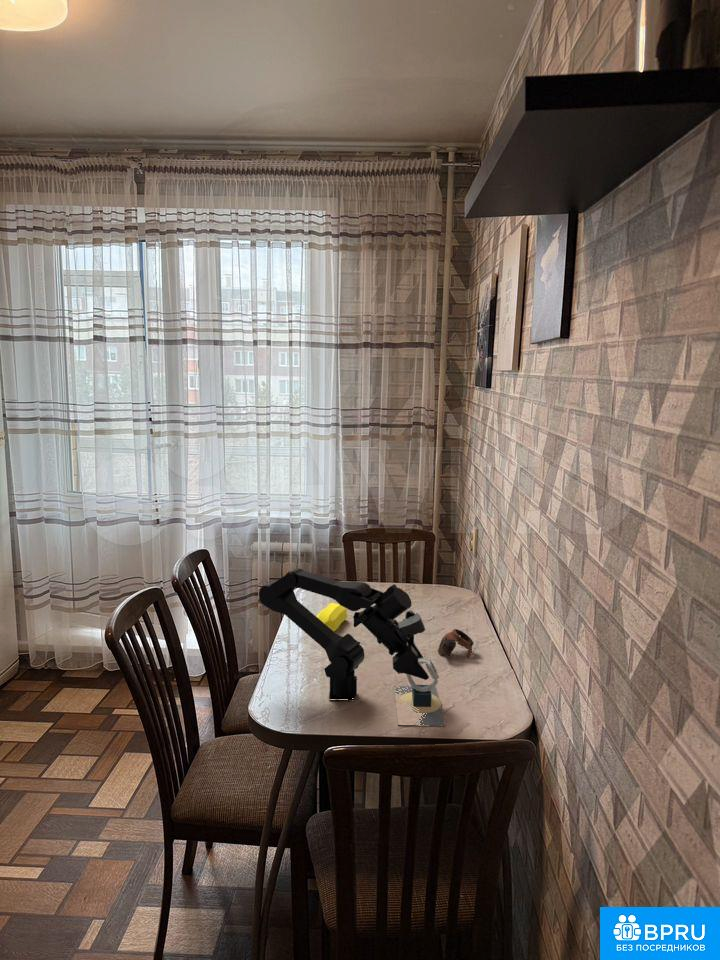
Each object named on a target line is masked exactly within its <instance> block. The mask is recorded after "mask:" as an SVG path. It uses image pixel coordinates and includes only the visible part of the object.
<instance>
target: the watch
mask: <svg viewBox="0 0 720 960" xmlns="http://www.w3.org/2000/svg"><path fill="white" fill-rule="evenodd" d="M418 662H419V663H420V664H422V663H423V664H425V666H426V669H427V671H428V674H429V676H431V678H432V679H433V681H432V683H431V684H416V683H415V681H414V680H413V677H412V675H409V674H406V676H407V679H408V683H409V685H410V686H412V699H413V706H414V707H431V696H432V695H431V690H432V689H433V688H434V687H437V684H438V682H439V681H438V679H440V676H439V673H438V671H437V668H436V667H435V665H434V663H433V661H432V660H431V659H428V658H425V657H423V658H418Z"/></svg>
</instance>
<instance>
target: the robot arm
mask: <svg viewBox="0 0 720 960" xmlns="http://www.w3.org/2000/svg"><path fill="white" fill-rule="evenodd" d="M296 588H297V589H300V590H304V591H307V592H310V593H314V594H317V595H320V596H323V597H327V598H329V599H333V600H335V601H336V603H337V604H339V605H341V606H343V607H345V608H346V610H349V611H352V612H354V614H353V616H352V619H353V625H352V626H353V627H354V628H357V627H358V626H359V625H363V626H364V627H365V628H366V629H367V630H368V631H369V632H370V633H371V634H372V635H373V637H375V638H376V642H377V643H378V644H379V645H381V644H382V645H383V646H384V647H385V648H386V649H387V650H388V653H389V655H390V656H393V657H392V661H391V662H392V663H391V664H392V669H393V670H394V671H395V672H396V673H397V674H398V675H399V674H405V675H407V674H409V675H411V677H412V676H413V677H416V678H418V679H422V680H424V681H427V680H428V679H429V678H430V675H429V673H427V671H426V670H425V669H424V667H423V666H422V664H424V663H419V662H418V658H424V656H423V654H422V653H421V651H420V650H419V648H418V647H417V645H416V643H415V635H418V634H422V633H424V632H425V631H426V627H425V623H424V622H423V619H422V618H421V615H420V614H419V613H418V612H414V611H413V610H411V609H410V608H411V607H412V599H411V597H410V596H409V594H408V593H407V592H405V590H403V589H402V588H400V587H397V585H396V584H392V585H390V586H389V587H387V589H386V590H385V591H384V592H383V591H381V590H378V589H376V588H372V587H371V586H370V585H369V584H368V583H366V582H362V581H354V580H353V581H352V580H351V581H350V580H349V581H339V580H336V579H333V578H331V577H326V576H323V575H319V574H316V573H313V572H310V571H306V570H304V569H303V568H294V569H292V570H289V571H287V573H286V574H285V575H283V576H282V577H281V578H279V579H276V580H274V581H272V582H270V583H267V584H265V585H263V586H261V587H260V588H259V591H258V596H259V602H260V603H261V605H263V607H265V608H267V609H269V610H271V611H272V612H275V613H279V614H282V615H285V616H286V617H287V618H288V619H289V620H290V621H291V622H292V623H293V624H294V625H296V626H297V627H298V628H299V629H300V630H302V631H303V632H304V633H305V634H307V636H309V637H310V638H311V640H313V641H314V642H315V643H316V644H318V645H319V646H321V648H322V649H324V650H325V652H326V653H325V654H326V657H327V659H328V660H329V663H330V664H328V665H327V666H326V667H325V668H324V673H325V676H326V677H327V678H329V694H328V695H329V696H328V700H329V699H348V700H354V699H355V700H356V697H355V696H357V694H358V691H357V688H358V686H357V685H358V683H357V682H358V677H357V675H355V670H356V669H358V667H359V665H360V664H363V662H364V660H365V649H364V648H363V646H362V645H361V641H358V640H356V639H355V637H353V635H351V634H350V633H346V634H345V635H343V636H342V635H339V634H337V633H336V632H335V631H332V630H331V629H330V628H329V627H328V626H327V625H325V624H324V623H323V622H322V621H321V620H320V619H318V618H317V617H316V616H317V615H315V614H314V613H312V612H311V611H310V610H309V609H308V608H307V607H305V606H304V605H303V604H302V603H301V602H300V601H299V600H298V599H297V596H296V594H295V591H294V589H296ZM360 609H363V610H362V611H360V612H358V611H359V610H360ZM408 609H409V610H408ZM403 613H405V617H404V618H402V620H401V621H399V622H398V621H397V620H396V619H397V618H398V617H399V616H401V615H402V614H403ZM395 653H396V654H395ZM352 698H354V699H352ZM355 700H354V701H355Z"/></svg>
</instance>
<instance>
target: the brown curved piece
mask: <svg viewBox="0 0 720 960" xmlns="http://www.w3.org/2000/svg"><path fill="white" fill-rule="evenodd" d="M456 645H458V646H460V647H462V648H464V649H467V654H466V657H467V658H470V656H471V654H472V653H473V645H474V641H473V640H472V638H471V637H470V636H469V635H468V634H466V633H465V632H464V631H461V629H457V628H453V629H452V631H450V632H447V633H445V634H444V636H442V639H441V641H440V642H439V646H438V649H437V652H438V654H439V655H440V656H441V657H443V656H445V657H451V654H452V653H453V651H454V649H456Z"/></svg>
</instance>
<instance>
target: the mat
mask: <svg viewBox="0 0 720 960" xmlns="http://www.w3.org/2000/svg"><path fill="white" fill-rule="evenodd" d="M396 686H397V685H393V688H394V687H396ZM399 686H400V688H397V687H396V689H395V690H396V691H399V690H398V689H401V690H402V691H399V692H401V693H403V694H401V696H400V697H399V698H398V699H399V700H401V701H399V700H398V701H399V702H400V703H401V702H403V701H404V703H405V702H406V703H408V704H410V705H412V706H413V699H412V690H411V689H412V686H411V685H399ZM401 686H402V687H401ZM405 686H406V687H408V689H407V688H406V687H405ZM409 686H411V687H409ZM436 687H437V686H435V687H434V688H433V689H432V690H431V695H432V696H431V707H416V708H417V709H419V710H417V709H416V708H414V707H412V706H411V707H412V708H413V709H415V710H417V711H419V713H422V714H423V713H425V714H424V715H422V716H423V717H425V718H423V717H422V716H421V718H422V720H421V719H419V720H421V721H420V723H421V724H420V725H423V724H424V725H429V726H428V727H446V723H445V721H444V720H445V719H444V716H443V712H442V705H443V704H442V701H441V699H440V698H439V696H438V692H437V688H436ZM402 688H405V689H407V690H405V689H404V690H403V689H402ZM408 690H409V691H408ZM404 691H405V692H407V693H405V692H404ZM399 692H395V693H397V694H399ZM407 701H408V702H407ZM410 702H411V703H410ZM404 703H402V704H404ZM413 709H412V710H413ZM415 710H413V711H414V712H416V713H418V712H417V711H415ZM426 713H427V714H426ZM425 715H426V716H425ZM422 721H423V722H422ZM441 725H442V726H441Z"/></svg>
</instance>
